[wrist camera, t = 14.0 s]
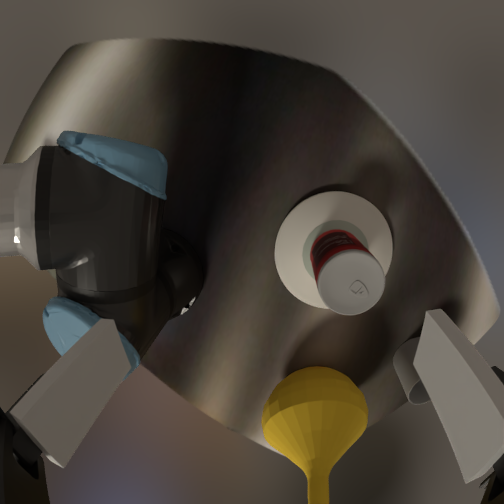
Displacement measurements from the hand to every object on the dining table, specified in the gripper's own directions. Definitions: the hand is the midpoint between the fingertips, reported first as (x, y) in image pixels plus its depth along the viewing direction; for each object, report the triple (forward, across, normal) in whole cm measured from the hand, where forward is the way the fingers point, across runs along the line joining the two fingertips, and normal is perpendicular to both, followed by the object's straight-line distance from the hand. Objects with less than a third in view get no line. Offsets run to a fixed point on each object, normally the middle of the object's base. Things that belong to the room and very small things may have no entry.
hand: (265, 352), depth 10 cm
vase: (+31, -5, +33) cm, 45 cm away
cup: (+31, -25, +28) cm, 49 cm away
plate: (+31, -8, +6) cm, 32 cm away
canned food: (+29, -8, +6) cm, 31 cm away
